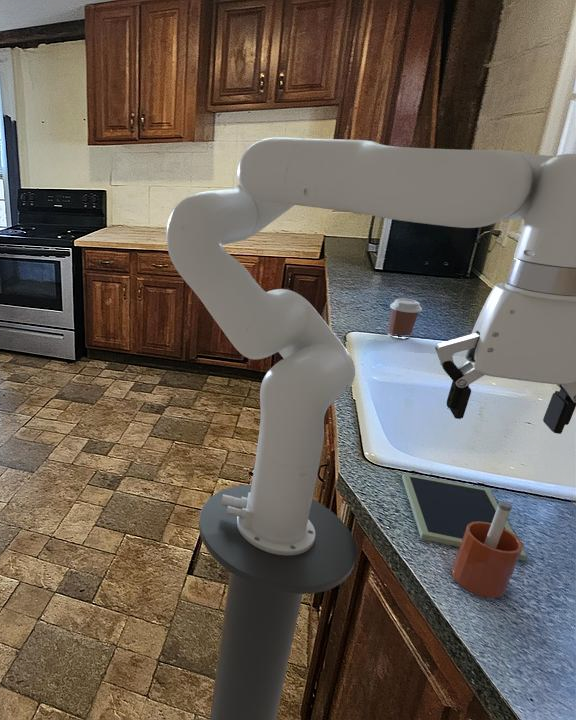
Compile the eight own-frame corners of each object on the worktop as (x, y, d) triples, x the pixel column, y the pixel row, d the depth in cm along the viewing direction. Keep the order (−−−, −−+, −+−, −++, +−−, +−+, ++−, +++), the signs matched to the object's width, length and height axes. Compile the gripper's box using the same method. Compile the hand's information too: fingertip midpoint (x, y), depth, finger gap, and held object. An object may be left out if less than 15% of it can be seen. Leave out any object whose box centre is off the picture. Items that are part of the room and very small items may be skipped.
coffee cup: (392, 340, 170) (401, 305, 166) (378, 331, 179) (385, 297, 174) (420, 341, 171) (429, 305, 166) (404, 331, 179) (413, 297, 174)
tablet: (420, 539, 84) (422, 533, 84) (401, 477, 100) (402, 472, 100) (524, 561, 80) (527, 555, 80) (487, 493, 96) (489, 488, 95)
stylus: (474, 580, 76) (501, 506, 71) (471, 573, 77) (498, 500, 72) (485, 582, 75) (513, 508, 70) (482, 575, 77) (510, 502, 72)
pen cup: (458, 591, 75) (474, 546, 72) (446, 559, 80) (461, 517, 77) (511, 603, 73) (530, 558, 70) (496, 570, 78) (512, 527, 75)
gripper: (634, 278, 56) (576, 418, 63) (449, 265, 62) (413, 396, 68) (678, 295, 50) (609, 450, 56) (467, 279, 55) (426, 422, 62)
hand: (502, 420), depth 62 cm, fingers open, 9 cm apart
